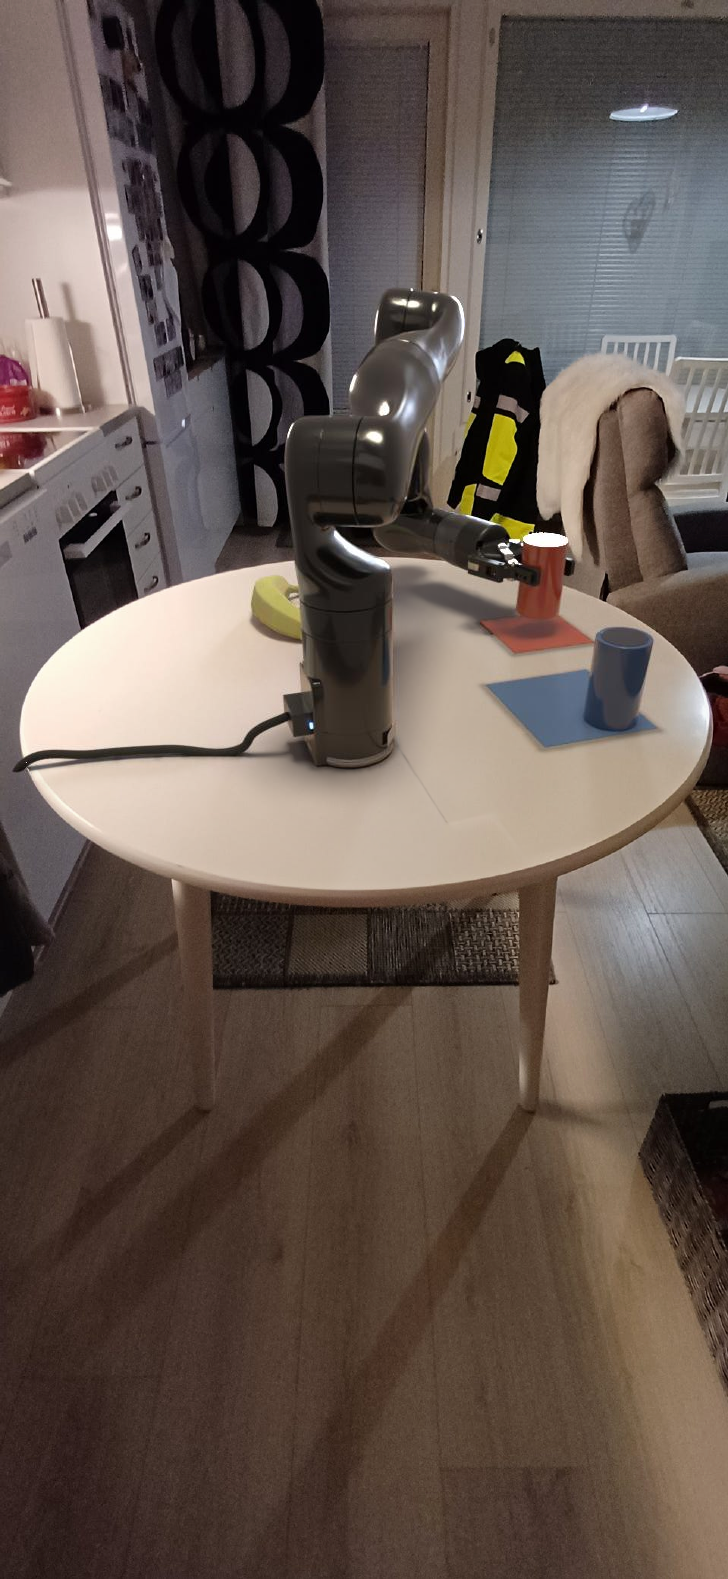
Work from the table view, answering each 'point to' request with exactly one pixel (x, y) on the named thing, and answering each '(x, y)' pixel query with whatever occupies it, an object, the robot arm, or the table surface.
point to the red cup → (543, 575)
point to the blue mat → (555, 708)
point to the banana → (276, 606)
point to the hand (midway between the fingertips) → (555, 573)
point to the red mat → (535, 633)
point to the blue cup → (617, 678)
